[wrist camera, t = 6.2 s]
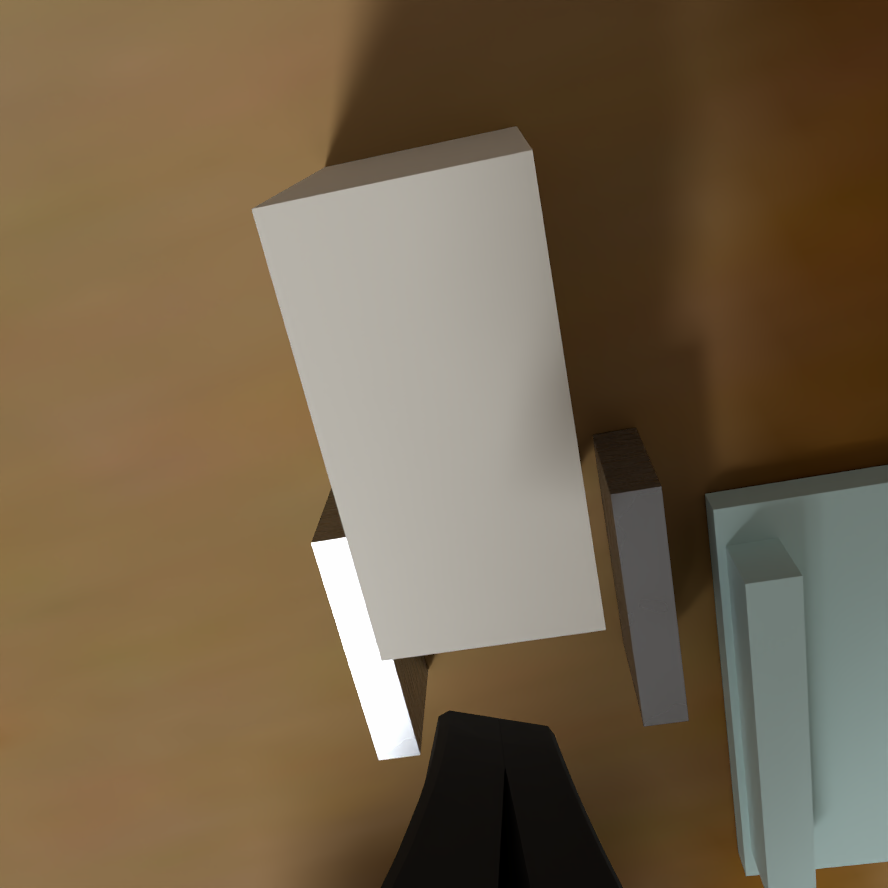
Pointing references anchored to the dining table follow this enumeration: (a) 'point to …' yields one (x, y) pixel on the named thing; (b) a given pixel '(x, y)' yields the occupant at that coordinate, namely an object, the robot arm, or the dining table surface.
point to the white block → (439, 391)
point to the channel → (637, 590)
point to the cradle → (805, 669)
